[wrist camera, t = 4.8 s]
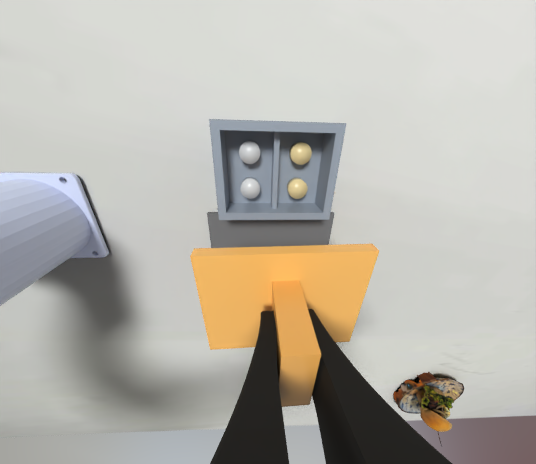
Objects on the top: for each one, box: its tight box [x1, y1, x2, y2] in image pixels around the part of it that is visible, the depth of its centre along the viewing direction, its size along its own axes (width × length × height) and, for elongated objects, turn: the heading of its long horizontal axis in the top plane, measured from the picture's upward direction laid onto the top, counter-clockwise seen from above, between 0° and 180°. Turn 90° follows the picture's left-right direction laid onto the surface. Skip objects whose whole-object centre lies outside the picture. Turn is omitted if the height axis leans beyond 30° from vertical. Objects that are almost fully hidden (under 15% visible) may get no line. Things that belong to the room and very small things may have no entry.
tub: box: [209, 119, 346, 220], centre depth 16 cm, size 9×7×3 cm
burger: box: [393, 372, 464, 439], centre depth 34 cm, size 12×12×8 cm
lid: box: [190, 244, 379, 407], centre depth 11 cm, size 10×8×6 cm
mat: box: [207, 212, 334, 248], centre depth 21 cm, size 12×9×1 cm
